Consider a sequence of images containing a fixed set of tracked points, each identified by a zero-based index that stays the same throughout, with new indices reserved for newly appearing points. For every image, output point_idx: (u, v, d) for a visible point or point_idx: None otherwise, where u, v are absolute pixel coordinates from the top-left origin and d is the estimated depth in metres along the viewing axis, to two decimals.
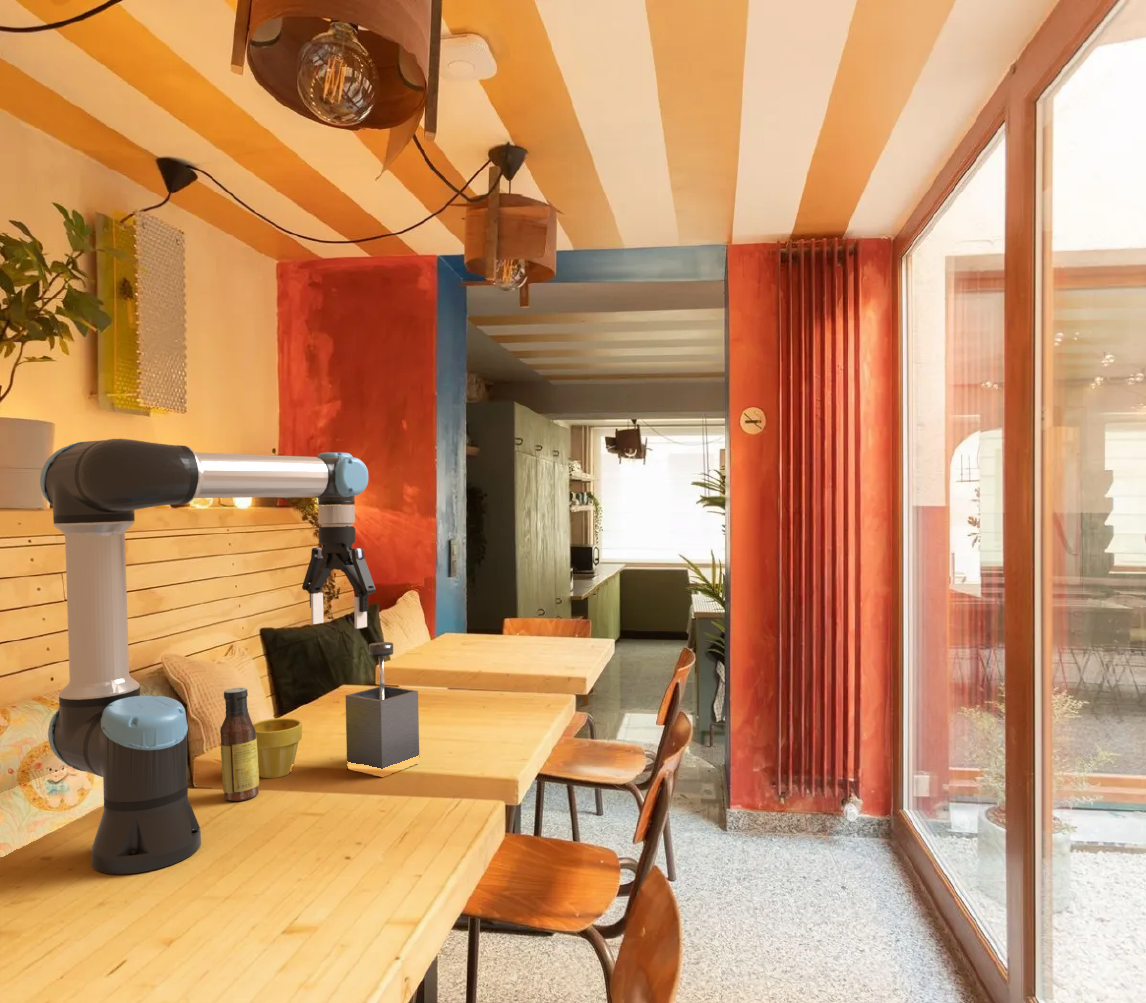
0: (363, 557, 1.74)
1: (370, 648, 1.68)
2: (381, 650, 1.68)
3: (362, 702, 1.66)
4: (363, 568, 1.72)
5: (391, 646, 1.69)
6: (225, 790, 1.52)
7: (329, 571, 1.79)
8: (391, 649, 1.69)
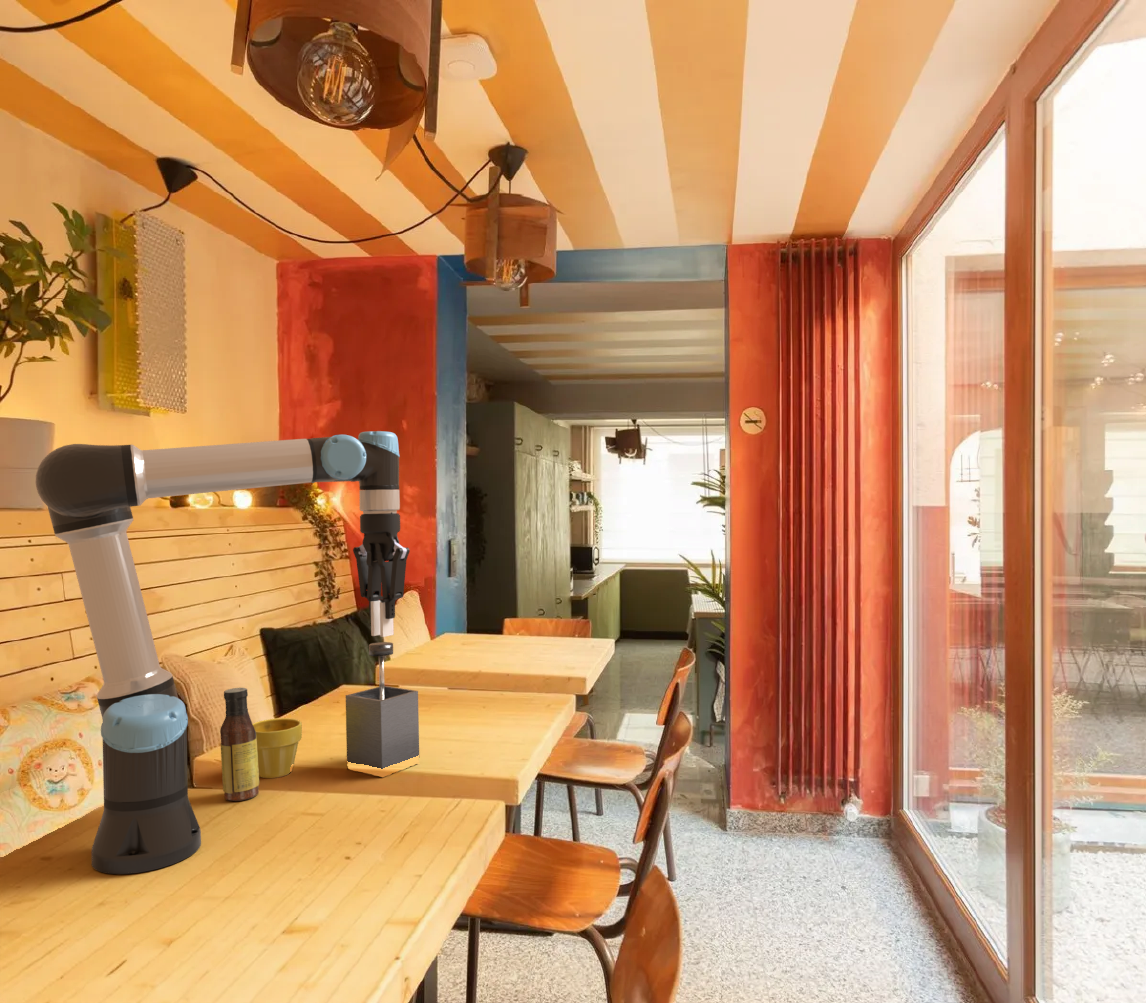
0: (405, 558, 1.57)
1: (370, 648, 1.68)
2: (381, 650, 1.68)
3: (362, 702, 1.66)
4: (400, 571, 1.57)
5: (391, 646, 1.69)
6: (225, 790, 1.52)
7: (380, 566, 1.61)
8: (391, 649, 1.69)
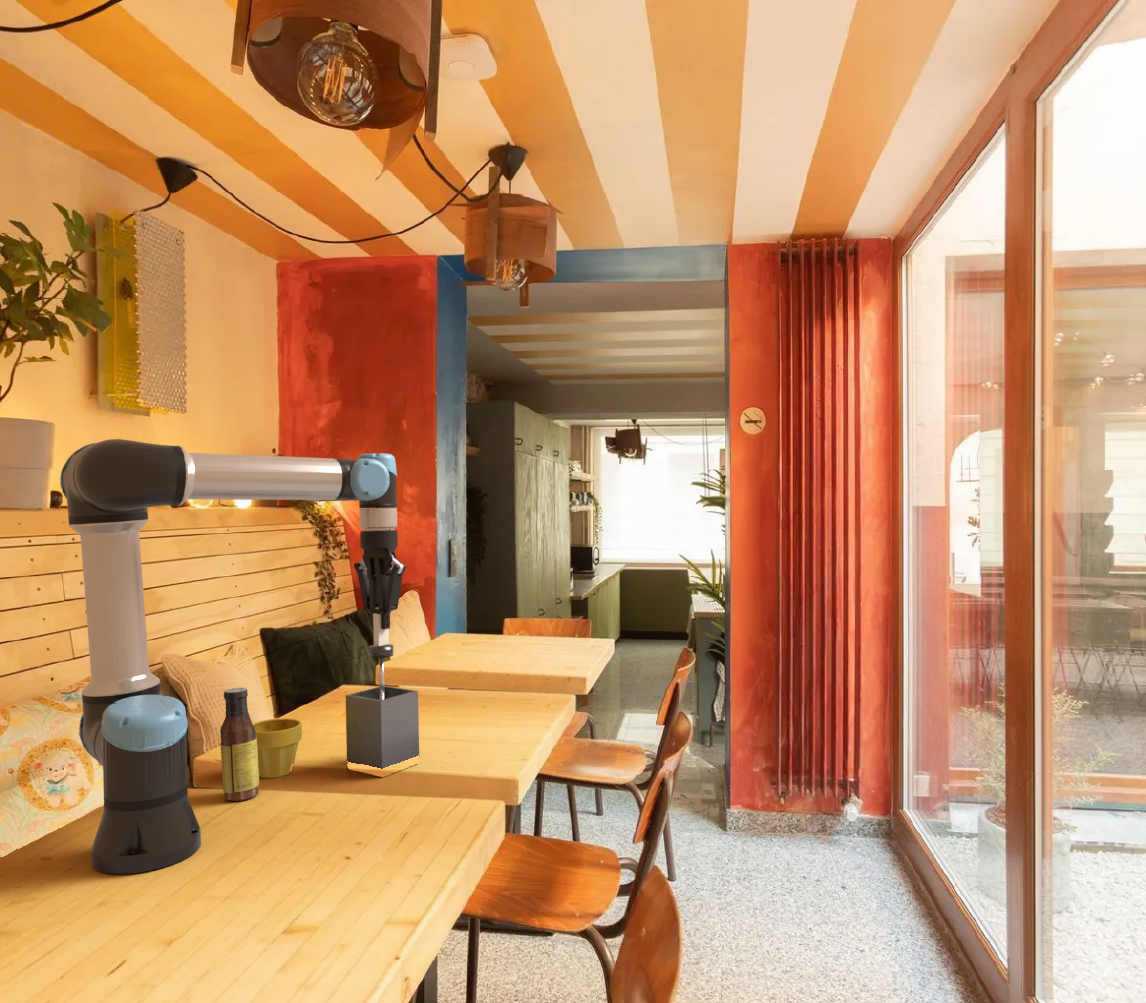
0: (402, 573, 1.68)
1: (370, 650, 1.68)
2: (381, 652, 1.68)
3: (362, 702, 1.66)
4: (396, 585, 1.67)
5: (391, 648, 1.69)
6: (225, 790, 1.52)
7: None
8: (391, 651, 1.69)
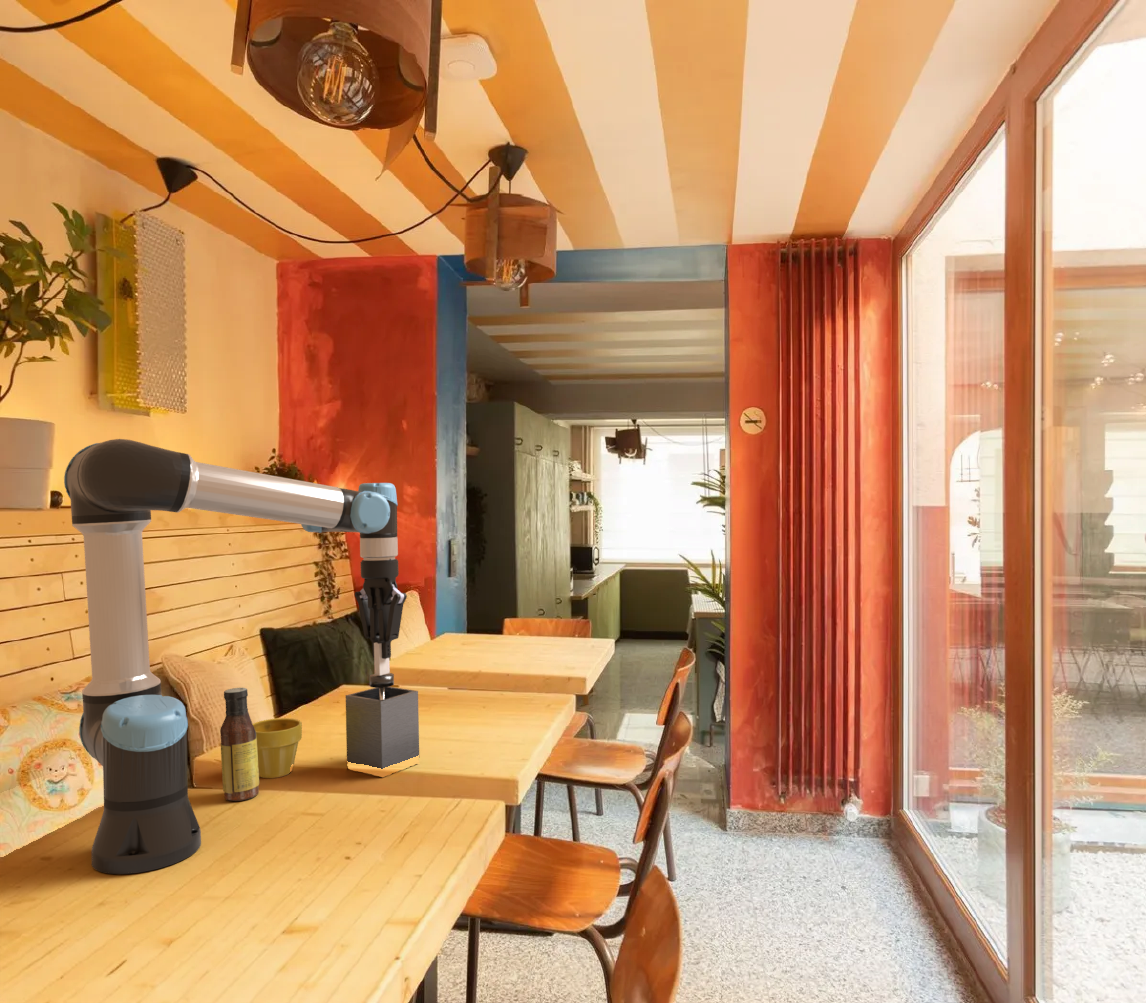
0: (402, 603, 1.68)
1: (371, 679, 1.68)
2: (382, 682, 1.68)
3: (362, 702, 1.66)
4: (397, 615, 1.67)
5: (392, 677, 1.69)
6: (225, 790, 1.52)
7: None
8: (392, 680, 1.69)
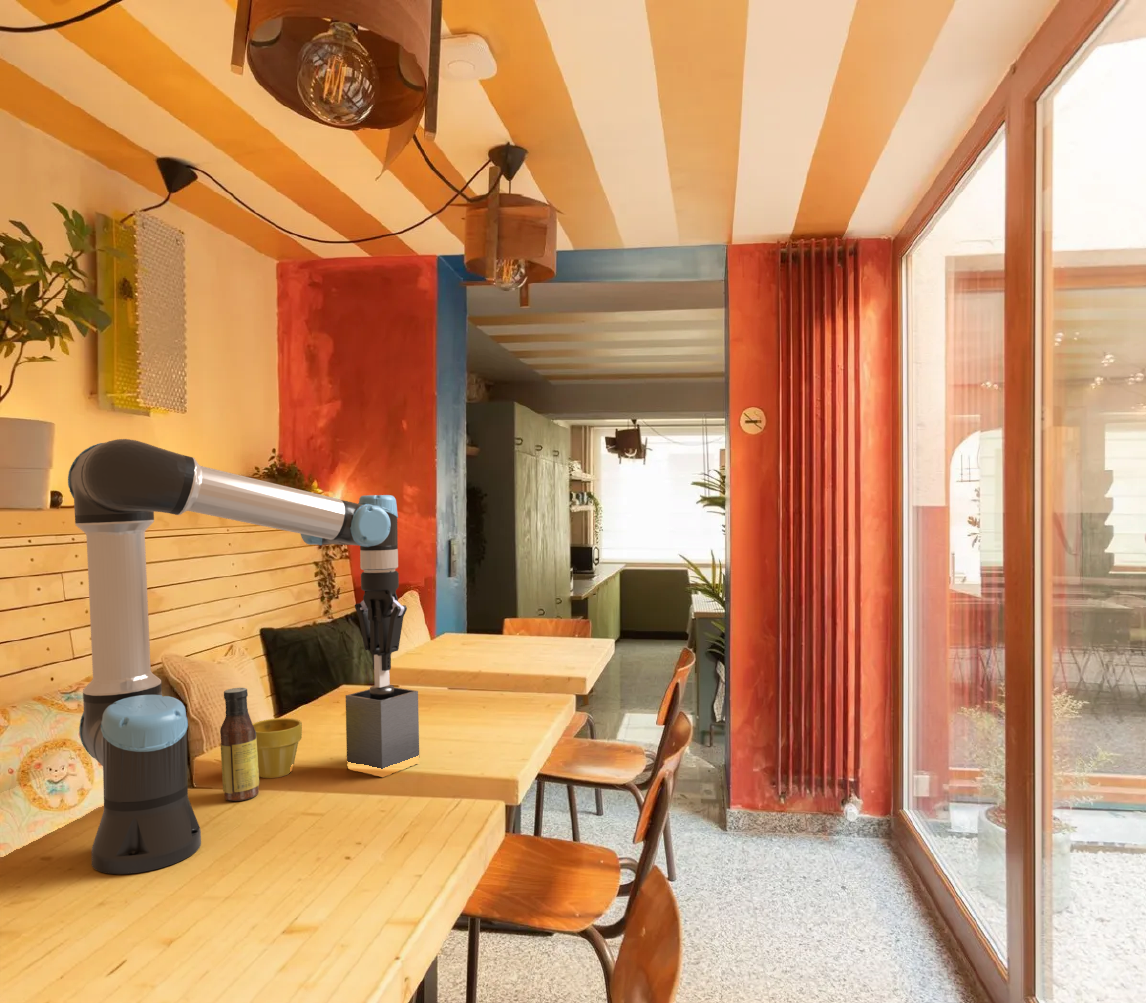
0: (402, 615, 1.68)
1: (371, 691, 1.68)
2: (382, 694, 1.68)
3: (362, 702, 1.66)
4: (397, 627, 1.67)
5: (392, 689, 1.69)
6: (225, 790, 1.52)
7: None
8: (392, 692, 1.69)
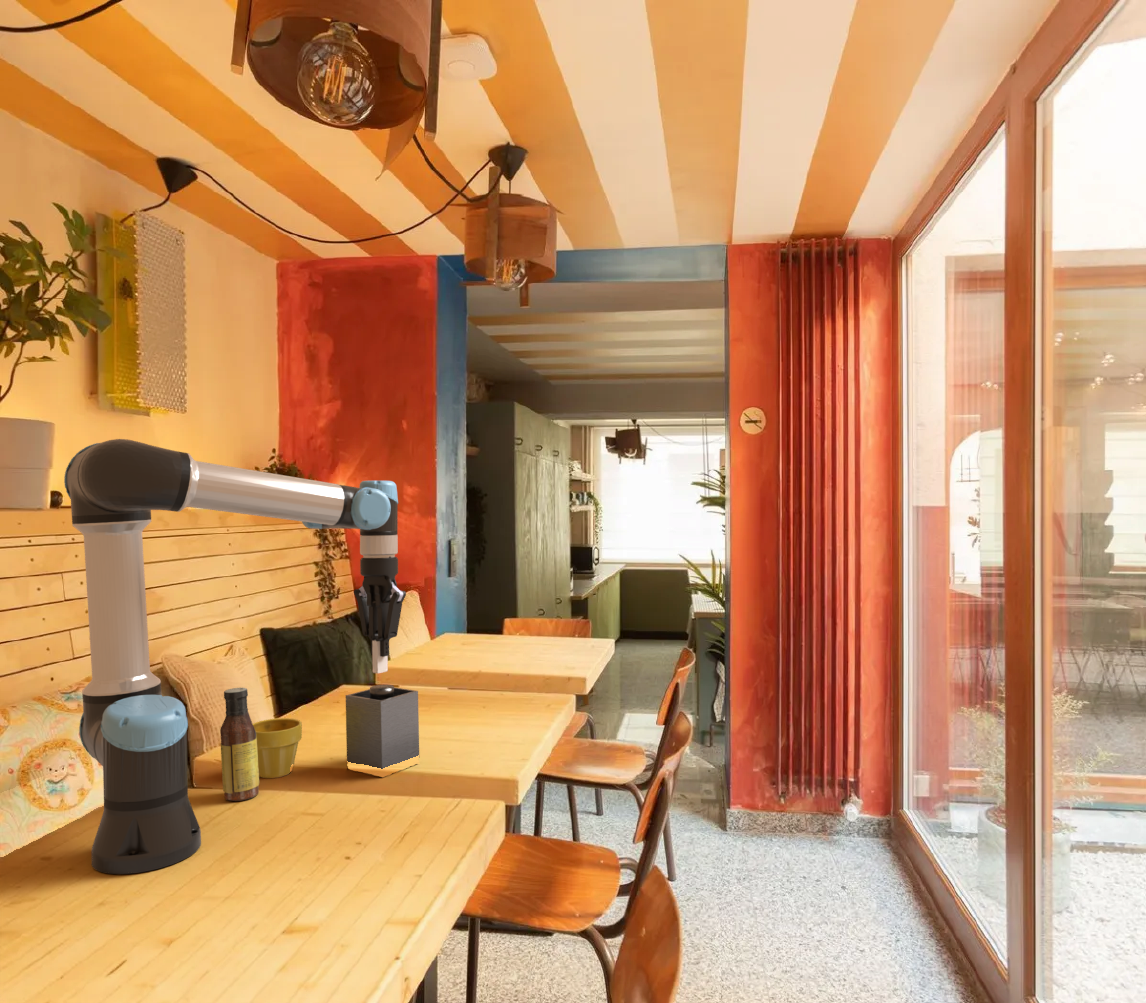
0: (401, 601, 1.68)
1: (371, 691, 1.68)
2: (382, 694, 1.68)
3: (362, 702, 1.66)
4: (396, 613, 1.67)
5: (392, 689, 1.69)
6: (225, 790, 1.52)
7: None
8: (392, 692, 1.69)
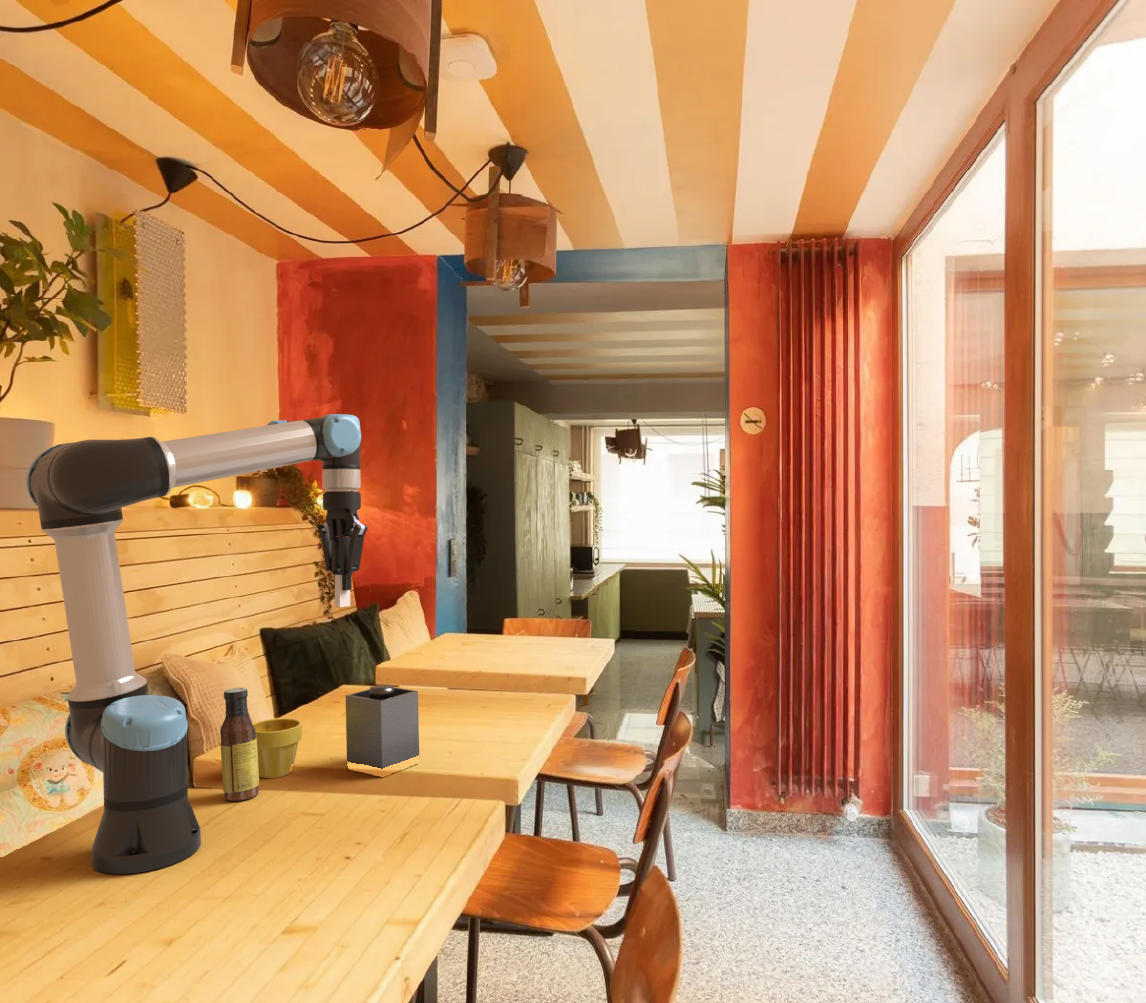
0: (363, 535, 1.68)
1: (371, 691, 1.68)
2: (382, 694, 1.68)
3: (362, 702, 1.66)
4: (357, 546, 1.67)
5: (392, 689, 1.69)
6: (225, 790, 1.52)
7: None
8: (392, 692, 1.69)
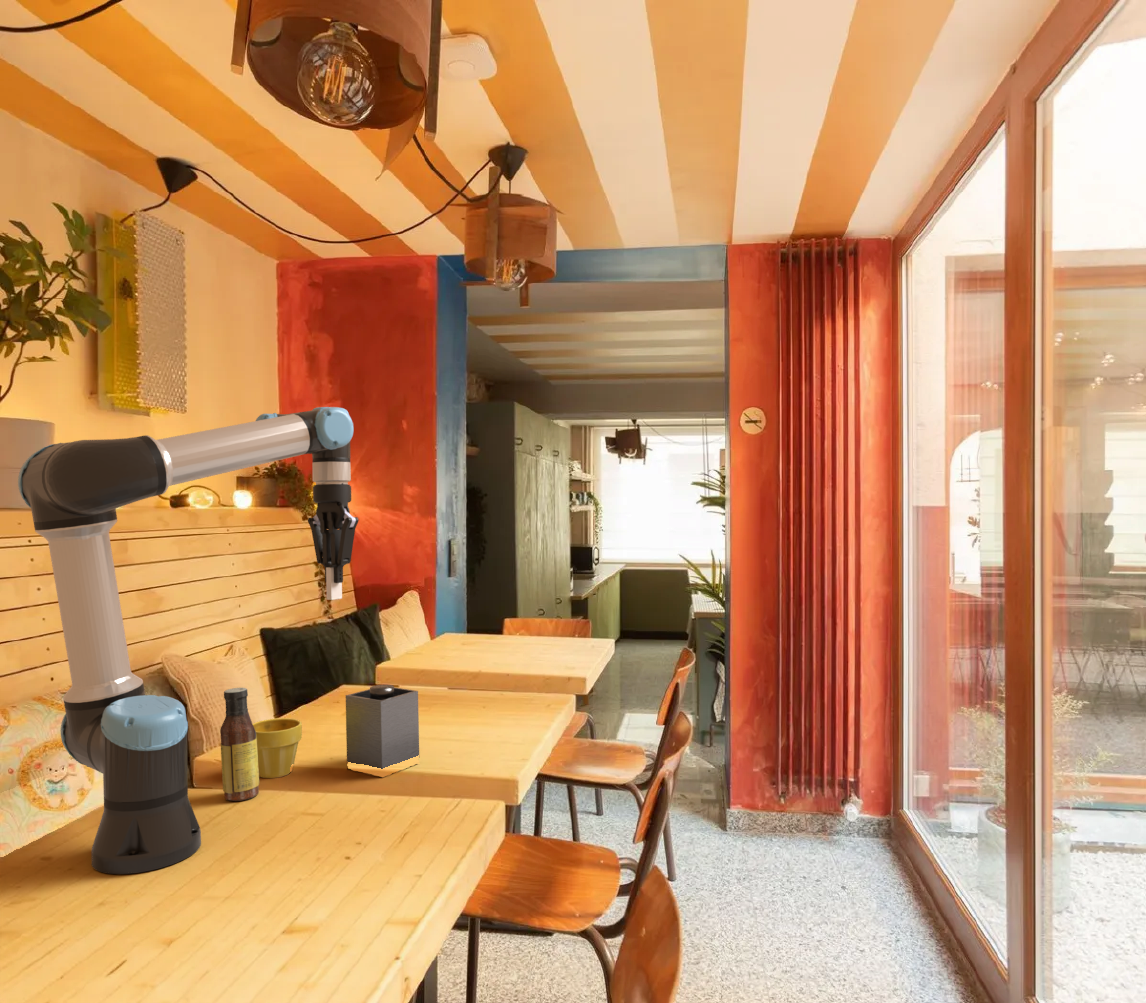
0: (354, 527, 1.68)
1: (371, 691, 1.68)
2: (382, 694, 1.68)
3: (362, 702, 1.66)
4: (348, 539, 1.68)
5: (392, 689, 1.69)
6: (225, 790, 1.52)
7: None
8: (392, 692, 1.69)
